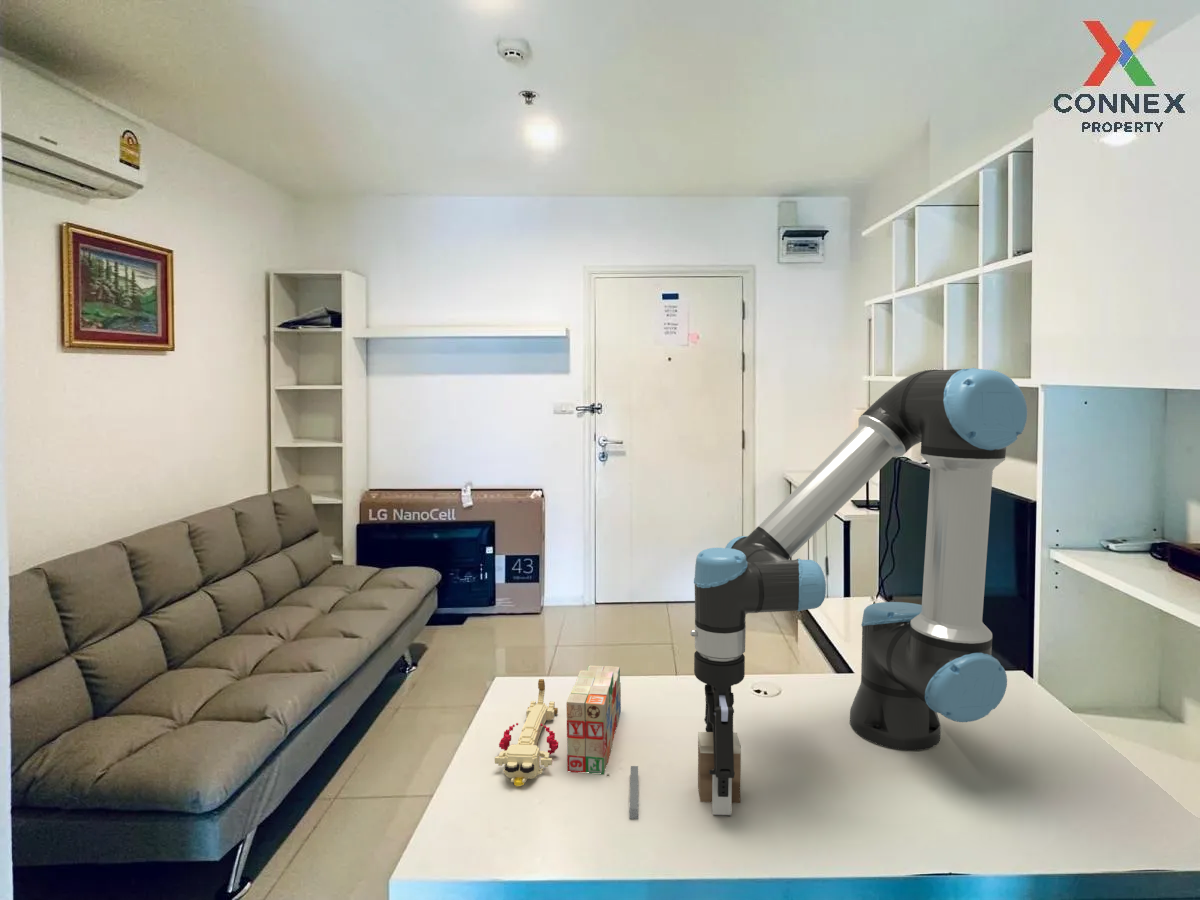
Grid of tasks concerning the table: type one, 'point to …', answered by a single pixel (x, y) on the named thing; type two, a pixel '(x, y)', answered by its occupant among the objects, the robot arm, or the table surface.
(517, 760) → the cream long toy figure
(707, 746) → the walnut block
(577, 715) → the stack of blocks
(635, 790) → the grey bar
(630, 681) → the table surface
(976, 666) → the robot arm
